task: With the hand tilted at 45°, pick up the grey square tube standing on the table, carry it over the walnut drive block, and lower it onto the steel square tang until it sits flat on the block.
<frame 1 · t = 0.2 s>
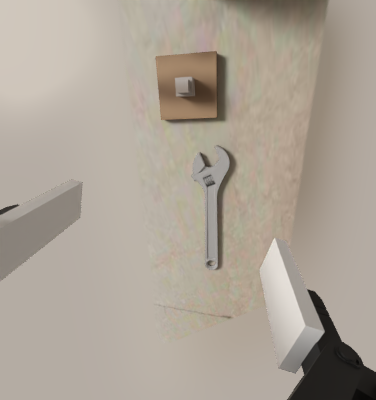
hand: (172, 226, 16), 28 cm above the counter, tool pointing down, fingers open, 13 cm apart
drive block: (188, 88, 39), on the counter
adjustable wrench: (207, 210, 46), on the counter
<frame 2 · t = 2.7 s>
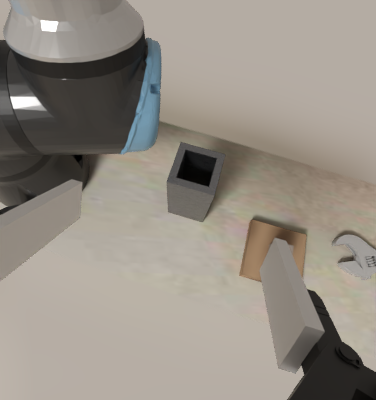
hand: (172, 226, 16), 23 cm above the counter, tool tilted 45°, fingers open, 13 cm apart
drive block: (270, 255, 39), on the counter
grey square tube: (190, 201, 41), on the counter
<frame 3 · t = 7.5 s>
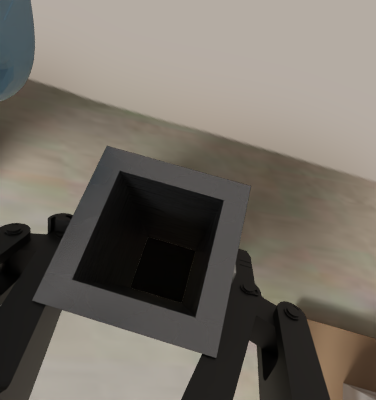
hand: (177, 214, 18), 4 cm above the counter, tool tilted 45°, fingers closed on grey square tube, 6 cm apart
drive block: (340, 397, 18), on the counter
grey square tube: (164, 268, 20), on the counter, touching gripper
when the fingers open (6 cm above the counter, at t = 12.0 s): grey square tube drops 1 cm, resting on drive block.
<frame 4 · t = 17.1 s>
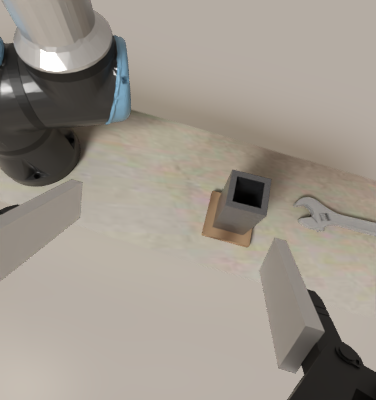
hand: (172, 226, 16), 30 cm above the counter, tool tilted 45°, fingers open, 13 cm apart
drive block: (228, 220, 48), on the counter, touching grey square tube
adjustable wrench: (350, 228, 49), on the counter
grey square tube: (230, 216, 46), point 1 cm above the counter, touching drive block
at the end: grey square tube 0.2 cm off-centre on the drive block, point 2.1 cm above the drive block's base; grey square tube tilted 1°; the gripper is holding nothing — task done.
